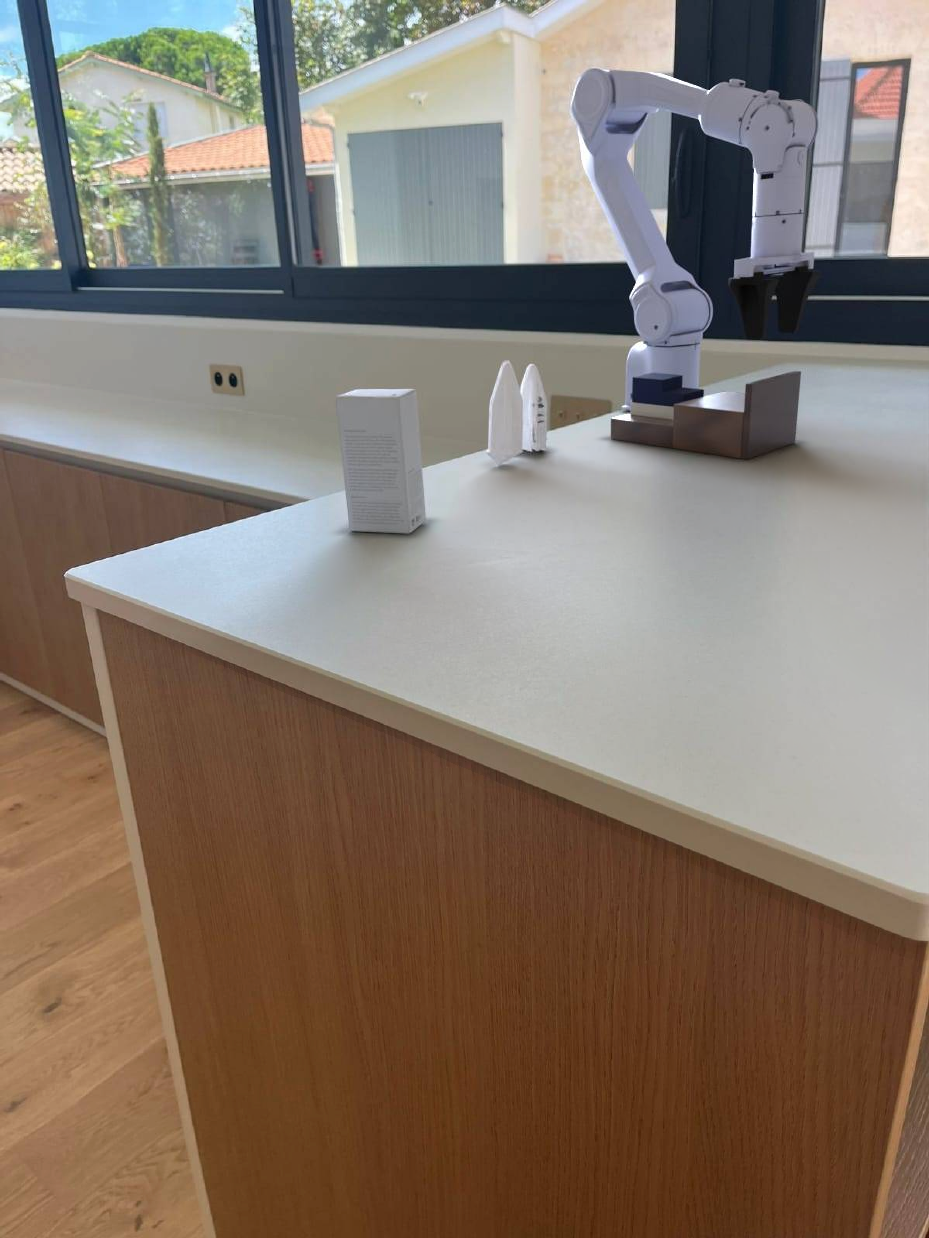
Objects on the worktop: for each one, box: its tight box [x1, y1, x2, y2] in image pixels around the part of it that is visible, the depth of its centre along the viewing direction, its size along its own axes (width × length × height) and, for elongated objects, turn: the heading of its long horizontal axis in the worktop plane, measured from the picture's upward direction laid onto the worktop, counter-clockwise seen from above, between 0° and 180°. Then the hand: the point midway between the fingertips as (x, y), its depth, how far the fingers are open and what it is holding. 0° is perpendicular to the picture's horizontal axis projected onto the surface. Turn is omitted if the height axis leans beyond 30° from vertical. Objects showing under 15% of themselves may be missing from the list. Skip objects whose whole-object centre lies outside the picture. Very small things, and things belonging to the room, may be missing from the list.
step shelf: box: [610, 370, 802, 460], centre depth 110 cm, size 19×10×8 cm, turn 43°
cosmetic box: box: [334, 388, 427, 534], centre depth 83 cm, size 6×4×12 cm
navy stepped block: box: [629, 373, 705, 420], centre depth 113 cm, size 8×4×4 cm, turn 43°
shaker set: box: [486, 360, 548, 466], centre depth 106 cm, size 12×4×11 cm, turn 152°
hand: (771, 336), depth 116 cm, fingers open, 7 cm apart
